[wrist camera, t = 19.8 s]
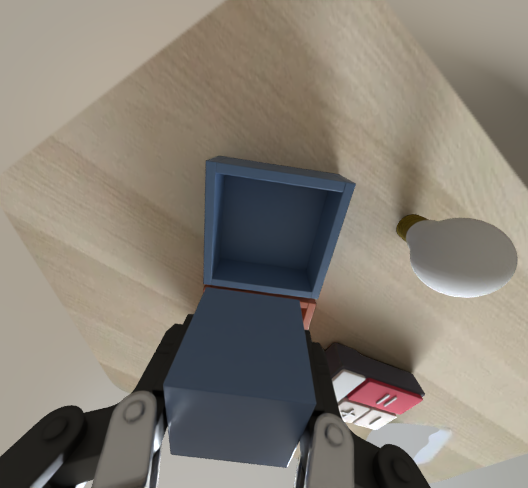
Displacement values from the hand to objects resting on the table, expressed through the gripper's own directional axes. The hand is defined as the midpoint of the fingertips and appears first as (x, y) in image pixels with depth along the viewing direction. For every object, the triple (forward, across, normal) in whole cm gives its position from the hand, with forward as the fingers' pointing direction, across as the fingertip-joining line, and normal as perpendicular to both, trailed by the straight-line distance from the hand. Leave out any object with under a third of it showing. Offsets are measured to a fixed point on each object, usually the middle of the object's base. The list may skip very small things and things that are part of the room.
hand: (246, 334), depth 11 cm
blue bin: (+14, -1, -1) cm, 14 cm away
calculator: (+14, -18, +23) cm, 32 cm away
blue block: (+1, 0, 0) cm, 1 cm away
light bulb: (+14, -15, -3) cm, 21 cm away
